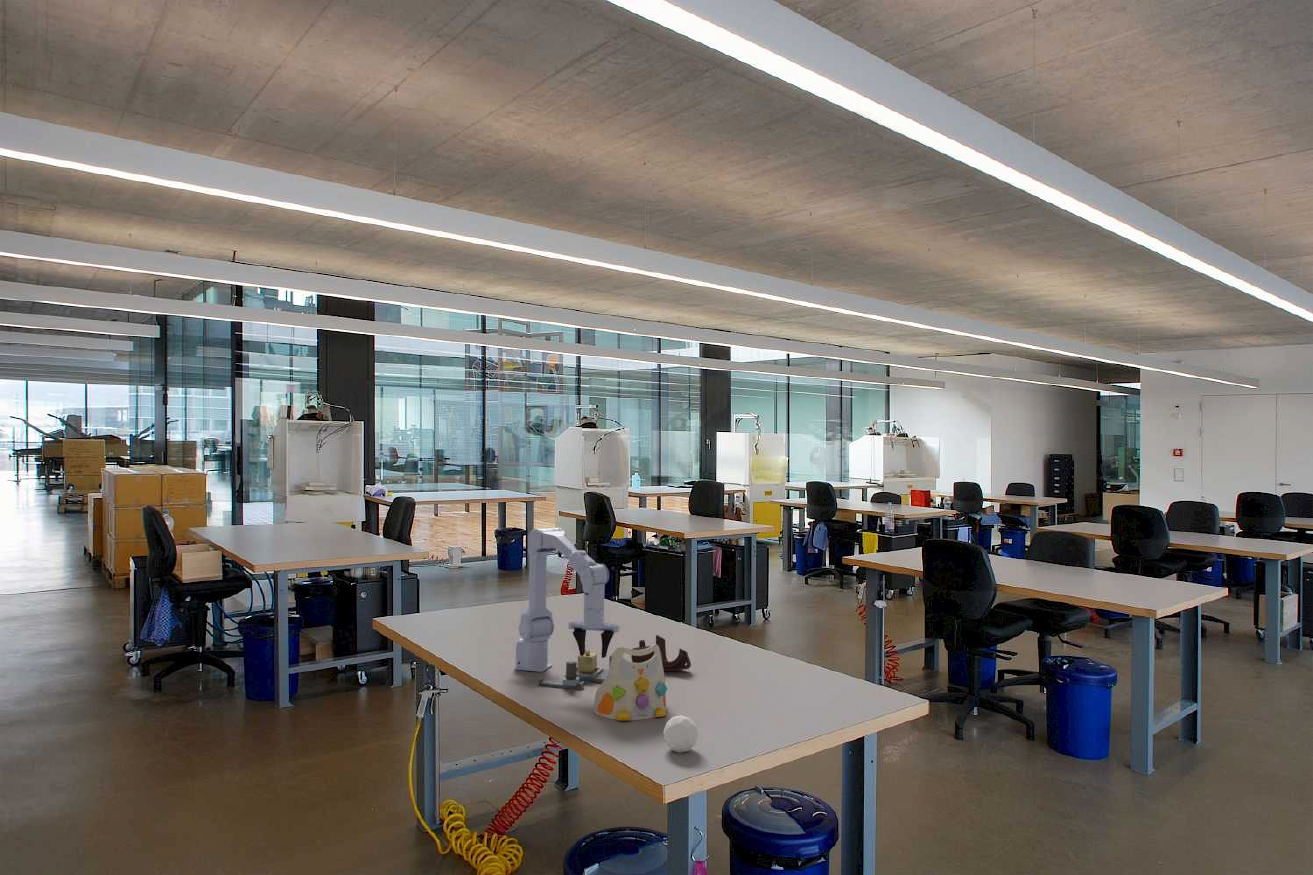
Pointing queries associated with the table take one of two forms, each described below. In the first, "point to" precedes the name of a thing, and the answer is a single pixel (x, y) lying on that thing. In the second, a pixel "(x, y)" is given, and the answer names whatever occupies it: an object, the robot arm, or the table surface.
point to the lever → (571, 674)
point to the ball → (680, 733)
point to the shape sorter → (632, 687)
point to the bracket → (663, 656)
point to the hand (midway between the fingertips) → (593, 655)
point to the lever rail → (559, 684)
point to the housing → (587, 663)
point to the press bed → (595, 674)
